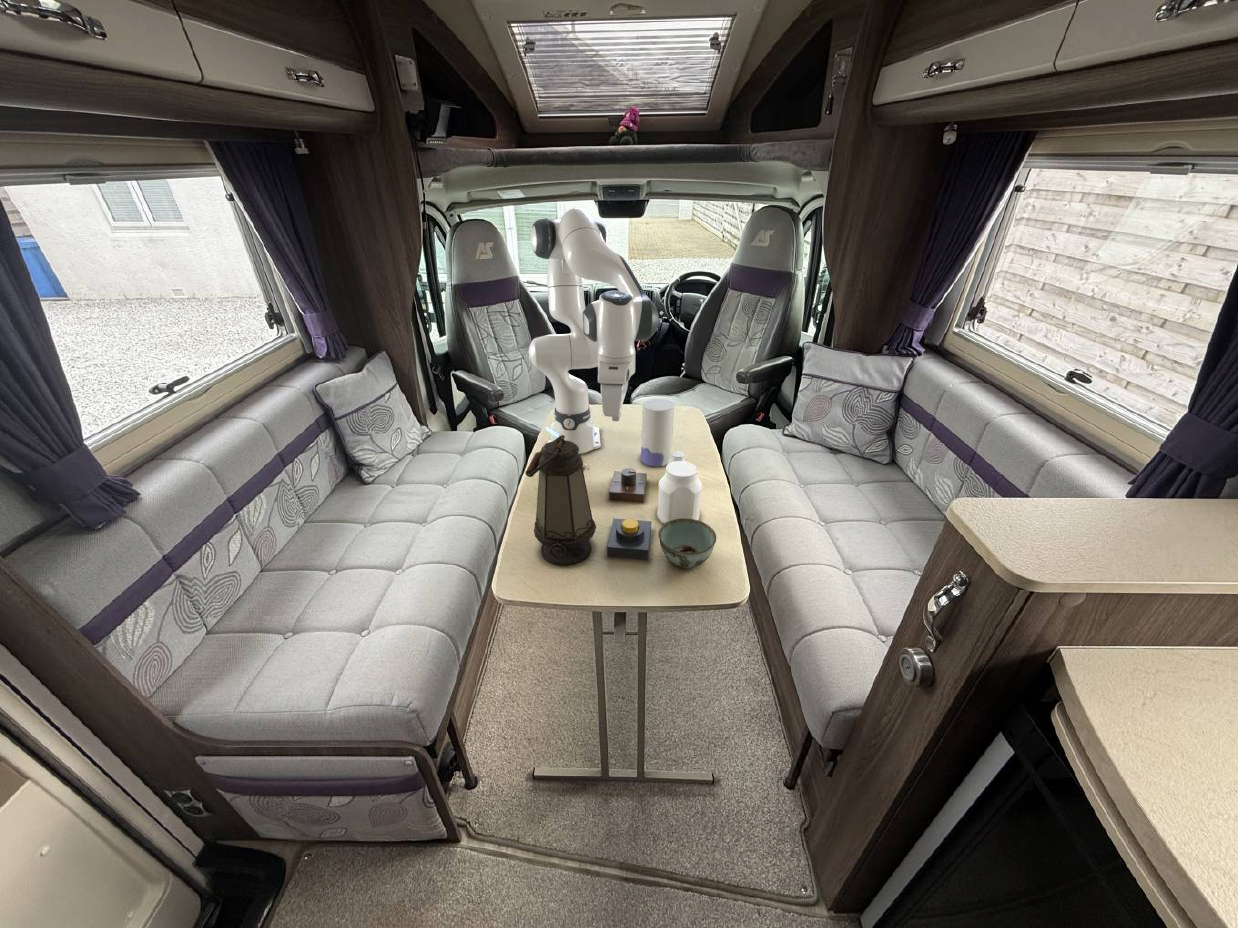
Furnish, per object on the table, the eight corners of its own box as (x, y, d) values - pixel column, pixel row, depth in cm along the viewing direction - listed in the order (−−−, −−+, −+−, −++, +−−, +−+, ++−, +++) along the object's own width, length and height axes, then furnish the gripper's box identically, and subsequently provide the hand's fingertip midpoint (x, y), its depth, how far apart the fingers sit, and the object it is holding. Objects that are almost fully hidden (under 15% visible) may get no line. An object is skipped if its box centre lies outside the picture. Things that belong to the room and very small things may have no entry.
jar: (658, 525, 134) (661, 477, 126) (656, 505, 142) (658, 459, 135) (701, 525, 134) (706, 477, 126) (696, 505, 142) (700, 459, 135)
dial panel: (614, 479, 155) (614, 470, 153) (646, 481, 154) (646, 472, 152) (609, 500, 144) (609, 491, 143) (643, 503, 143) (643, 493, 142)
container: (676, 459, 166) (680, 403, 157) (659, 470, 160) (662, 412, 150) (652, 450, 172) (655, 395, 162) (634, 460, 165) (636, 404, 156)
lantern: (591, 576, 116) (587, 464, 102) (527, 571, 118) (514, 460, 103) (601, 529, 132) (599, 426, 118) (545, 525, 134) (536, 423, 119)
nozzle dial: (620, 485, 146) (620, 474, 144) (621, 477, 150) (622, 466, 148) (635, 486, 145) (635, 475, 144) (636, 478, 149) (636, 467, 147)
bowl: (689, 537, 129) (691, 511, 126) (725, 566, 120) (728, 539, 116) (646, 555, 123) (647, 529, 119) (680, 587, 113) (682, 560, 109)
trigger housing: (613, 528, 133) (613, 512, 130) (651, 530, 132) (651, 515, 129) (607, 557, 122) (607, 540, 120) (647, 560, 121) (648, 544, 119)
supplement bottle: (683, 487, 151) (686, 458, 146) (666, 485, 152) (667, 457, 147) (685, 478, 155) (687, 450, 151) (668, 476, 156) (669, 448, 152)
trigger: (623, 523, 127) (623, 518, 126) (638, 524, 126) (638, 519, 125) (621, 533, 123) (621, 527, 122) (637, 534, 123) (637, 528, 122)
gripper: (609, 351, 126) (609, 402, 133) (596, 378, 109) (597, 435, 115) (634, 352, 126) (633, 403, 132) (625, 379, 108) (624, 437, 115)
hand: (616, 419), depth 124 cm, fingers closed
